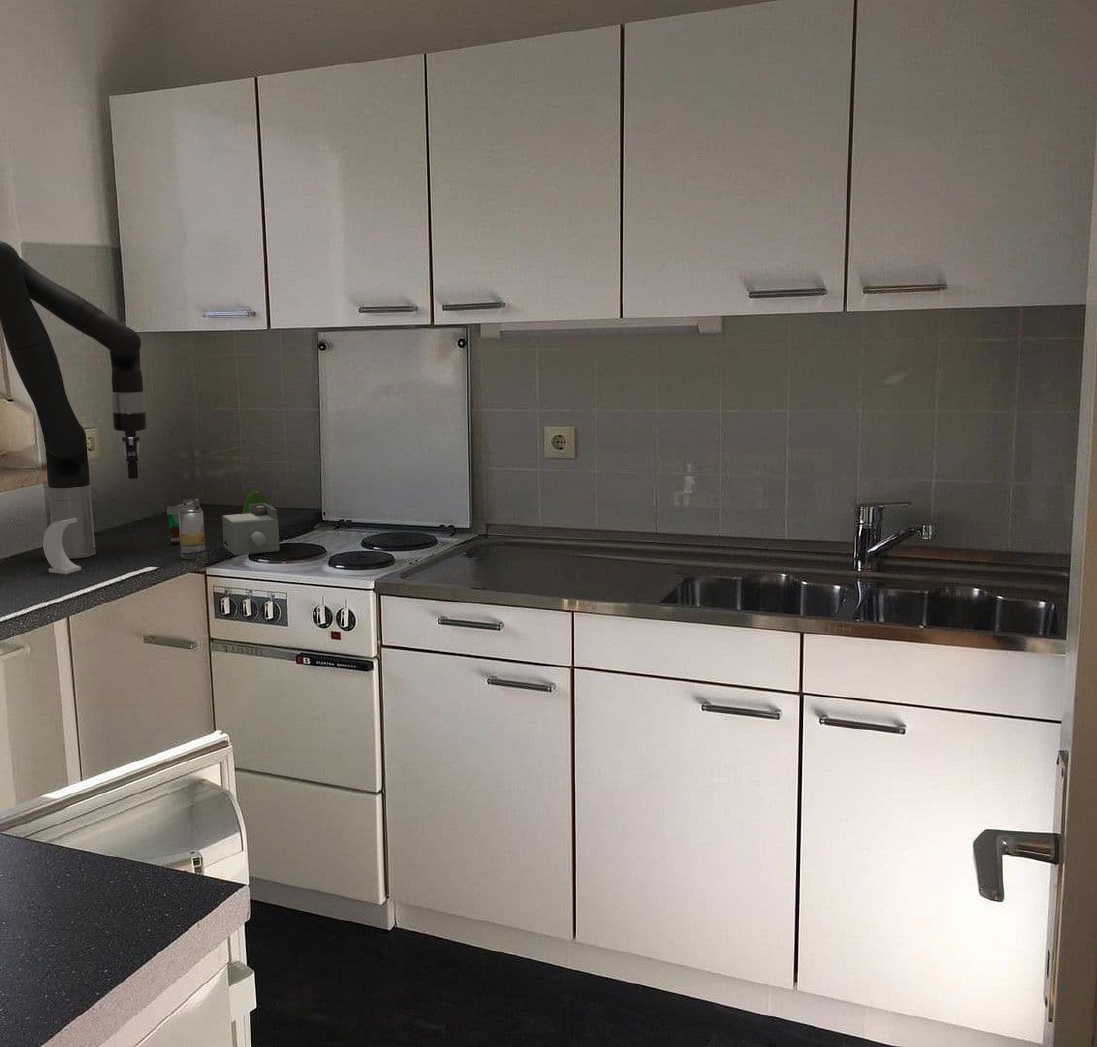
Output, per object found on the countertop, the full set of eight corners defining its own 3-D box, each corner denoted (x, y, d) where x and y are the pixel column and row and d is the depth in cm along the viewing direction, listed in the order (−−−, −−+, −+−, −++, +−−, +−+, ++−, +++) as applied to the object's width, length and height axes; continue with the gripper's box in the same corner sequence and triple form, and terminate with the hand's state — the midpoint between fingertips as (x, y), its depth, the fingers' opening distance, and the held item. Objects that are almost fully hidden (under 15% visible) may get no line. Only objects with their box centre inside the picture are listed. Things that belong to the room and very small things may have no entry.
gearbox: (237, 557, 255) (235, 515, 254) (223, 546, 268) (221, 506, 266) (282, 553, 261) (280, 511, 259) (267, 542, 274) (265, 502, 272)
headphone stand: (65, 574, 238) (60, 521, 236) (45, 571, 241) (40, 519, 239) (81, 569, 243) (77, 518, 240) (61, 567, 245) (57, 516, 243)
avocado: (239, 537, 281) (237, 492, 279) (248, 531, 289) (246, 488, 287) (269, 537, 281) (267, 492, 279) (277, 531, 289) (275, 488, 287)
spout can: (183, 560, 253) (179, 502, 250) (179, 555, 258) (175, 498, 255) (208, 557, 256) (204, 500, 253) (203, 553, 261) (199, 497, 258)
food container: (192, 545, 271) (190, 506, 269) (169, 545, 271) (166, 506, 269) (209, 536, 283) (206, 499, 281) (186, 536, 283) (183, 499, 281)
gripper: (112, 408, 264) (116, 472, 267) (112, 413, 251) (116, 481, 254) (144, 407, 267) (148, 471, 270) (146, 412, 254) (150, 479, 257)
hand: (133, 476), depth 262 cm, fingers open, 8 cm apart
